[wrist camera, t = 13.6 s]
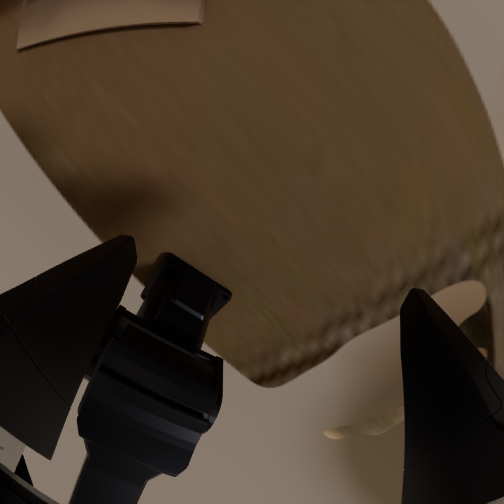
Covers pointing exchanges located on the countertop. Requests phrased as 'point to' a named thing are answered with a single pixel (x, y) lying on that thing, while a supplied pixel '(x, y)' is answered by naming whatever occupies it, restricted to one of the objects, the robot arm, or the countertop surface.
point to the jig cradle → (99, 16)
